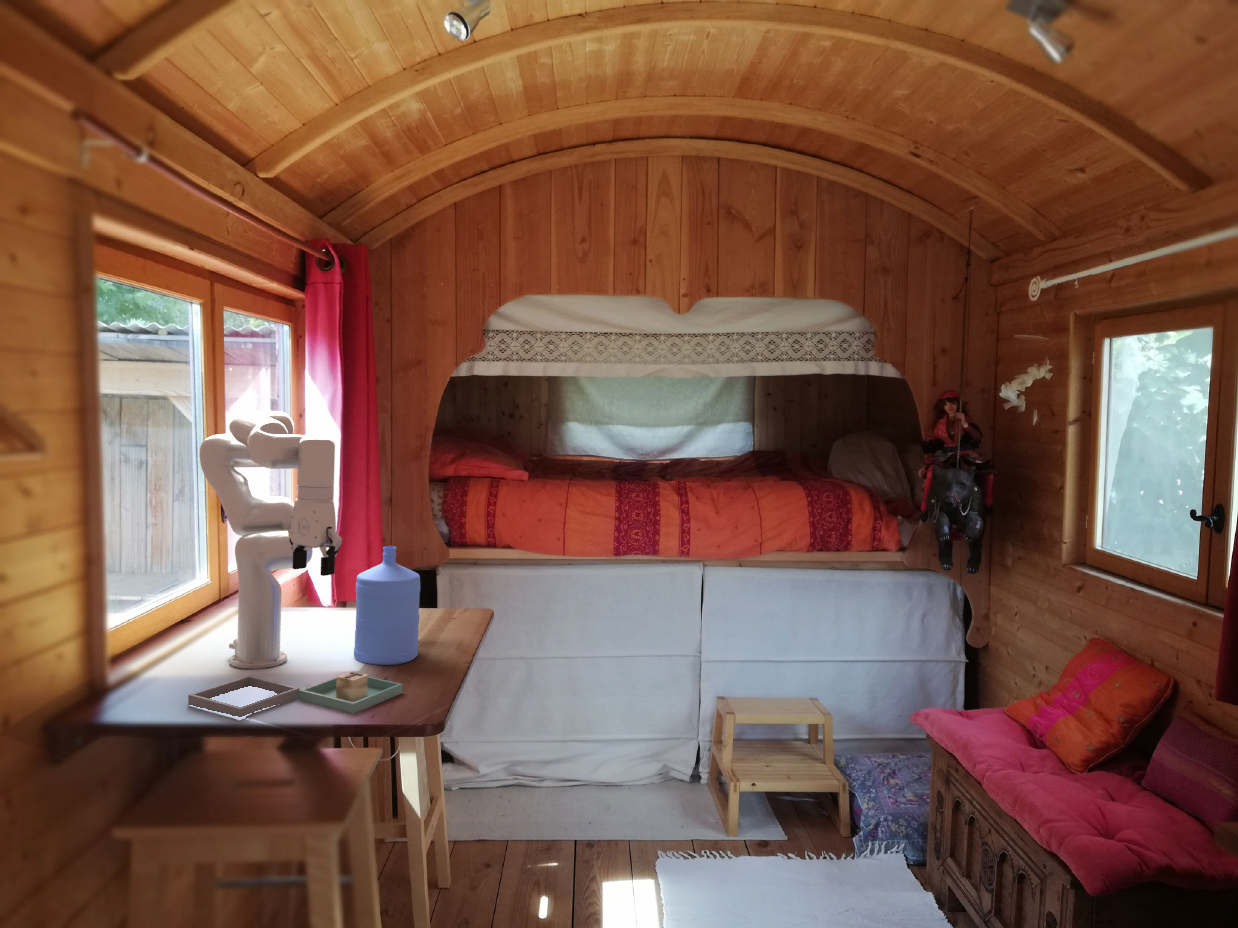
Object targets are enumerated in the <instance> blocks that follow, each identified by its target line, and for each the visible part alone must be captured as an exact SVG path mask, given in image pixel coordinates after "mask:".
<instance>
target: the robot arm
mask: <svg viewBox="0 0 1238 928" xmlns="http://www.w3.org/2000/svg"><path fill="white" fill-rule="evenodd" d="M228 425H229V426H228V427H229V433H221V434H213V435H211V436H209V437H207V438H205V439H204V440H203V441H202V442H201V445H200V447H199V462H200V467H201V470H202V473H203V475H204V477H205V479H206V480H207V482H208V484H210V486H211V488H212V489H213V490H214V491H215V493H216V494H217V496H218V499H219V501H220V504H221V507H222V508H223V511H224V513H225V517H226V519H227V521H228V523H229V526H230V528H231V530H232V531H233V532H234V533H235V534H236V535H238V536H240V537H239V538H238V539H237V541H236V543H235V545H234V547H235V548H234V557H235V561H236V568H237V578H238V579H237V580H238V597H237V598H238V603H237V604H238V605H237V607H238V609H237V616H238V617H237V638H235V639H234V640H233V642H231V643H229V644H228V648H229V650H230V649H231V650H234V655H232V656H231V657H230V659H229V664H230V665H231V666H233V667H234V668H239V669H246V668H258V669H266V667H267V668H271V667H277V666H279V665H281V664H284V663H285V662H286V661H287V659H288V658H287V656H288V655H287V653H285V651H281V630H282V629H281V625H282V622H281V621H282V587H281V583H280V582H279V581H278V580H277V578H276V577H275V576H274V574H273V573H272V572H273V571H278V570H287V569H292V570H299V569H300V570H302V569H306V568H307V566H308V565H307V564H309V562H310V561H311V560H312V558H313V549H317V548H319V550H320V552H321V554H322V557H320V576H323V577H325V576H331V575H334V574H335V570H336V567H335V566H336V564H335V563H336V557H337V555H338V552H339V551H340V550H341V549H340V546H341V545H342V541H343V538H342V537H341V536H340V535H339V534H338V533H337V532H336V531H337V523H336V508H335V503H334V493H335V491H334V490H335V489H334V488H335V462H336V461H335V458H336V455H335V454H336V444H335V442H334V441H333V440H332V439H331V438H326V437H319V436H317V435H312V434H311V435H310V434H308V435H307V434H303V435H302V434H294V433H295V426H294V422H293V420H292V418H291V417H290V416H289V415H288V414H287V413H285V412H283V411H277V410H274V411H273V410H257V409H256V410H253V409H251V410H242V411H240V412H237V413H236V414H235V415H233V417H232V418H231V419H230V421H229V424H228ZM236 468H266V469H272V470H279V469H282V470H283V469H284V470H285V469H288V470H289V469H297V479H296V480H297V483H296V485H297V486H296V487H297V488H296V489H297V490H296V491H297V492H296V499H295V500H294V502H293V501H292V500H291V499H289V498H287V497H285V496H262V495H259V494H258V492H257V490H256V488H255V485H254V483H253V482H252V481H251V480H250V479H249V477H248V476H246V475H245V474H243V473H242V472H240V471H239V470H237V469H236Z"/></svg>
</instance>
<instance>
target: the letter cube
mask: <svg viewBox="0 0 1238 928" xmlns="http://www.w3.org/2000/svg"><path fill="white" fill-rule="evenodd" d="M368 676H369V675H368V674H365V673H361V672H356V671H352V670H351V671H348V672H346V673H342V674H340V675H338V676H336V677H337V683H336V697H337V698H341V699H345V700H349V701H354V700H356V699H359V698H361V697H364V696H366V695H367V680H368Z"/></svg>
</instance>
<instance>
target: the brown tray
mask: <svg viewBox="0 0 1238 928" xmlns="http://www.w3.org/2000/svg"><path fill="white" fill-rule="evenodd" d="M248 686H252V687H258V688H262V689H265V690H269V691H274V692H275V693H277V695H274V696H272V697H269V698H266V699H263V700H260V701H257V702H255V703H252V704H249V705H246V706H243V707H238V706H234V705H230V704H227V703H223V702H219V701H216V700H212V699H210V698H212V697H215V696H219V695H220V694H225V693H228V692H230V691H234V690H238V689H240V688H244V687H248ZM299 690H300V688H299V687H296V686H292V685H288V684H284V683H280V682H276V681H273V680H268V679H264V678H261V677H255V676H252V675H247V676H244V677H241V678H238V679H234V680H231V681H228V682H224V683H221V684H218V685H216V686H215V685H214V686H212V687H209V688H205V689H202V690H200V691H196V692H192V693H191V694H188V700H187V701H188V703H187V706H188V705H193V706H196V707H200V708H206V709H208V710H212V711H217V712H221V713H226V714H230V715H232V716H238V717H242V716H245V715H247V714H250V713H254V712H255V711H258V710H262V709H263V708H267V707H271V706H273V705H278V704H280V705H283V704H285V703H288V702H291V701H294V700H297V699H299ZM278 706H279V705H278Z"/></svg>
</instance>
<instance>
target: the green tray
mask: <svg viewBox="0 0 1238 928" xmlns="http://www.w3.org/2000/svg"><path fill="white" fill-rule="evenodd" d="M336 683H337V676H336V677H333V678H330V679H327V680H325V681H322V682H318V683H316V684H312V685H310V686H307V687H305V688H302V689H299V698H298V699H299V700H298V701H302V702H306V703H309V704H313V705H316V706H317V705H318V706H321V707H322V706H323V707H325V708H330V709H334V710H337V711H341V712H345V713H349V714H354V715H355V714H357V713H358V712H360V711H363V710H366V709H368V708H370V707H373V706H375V705H377V704H380V703H382V702H384V701H387V700H390V699H392V698H394V697H396V696H399V695H402V694H403V683H400V682H394V681H392V680H386V679H381V678H378V677H373V676H369V675H368V680H367V695H366V696H364V697H361V698H359V699H356V700H354V701H349V700H345V699H341V698H337V697H336Z"/></svg>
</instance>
